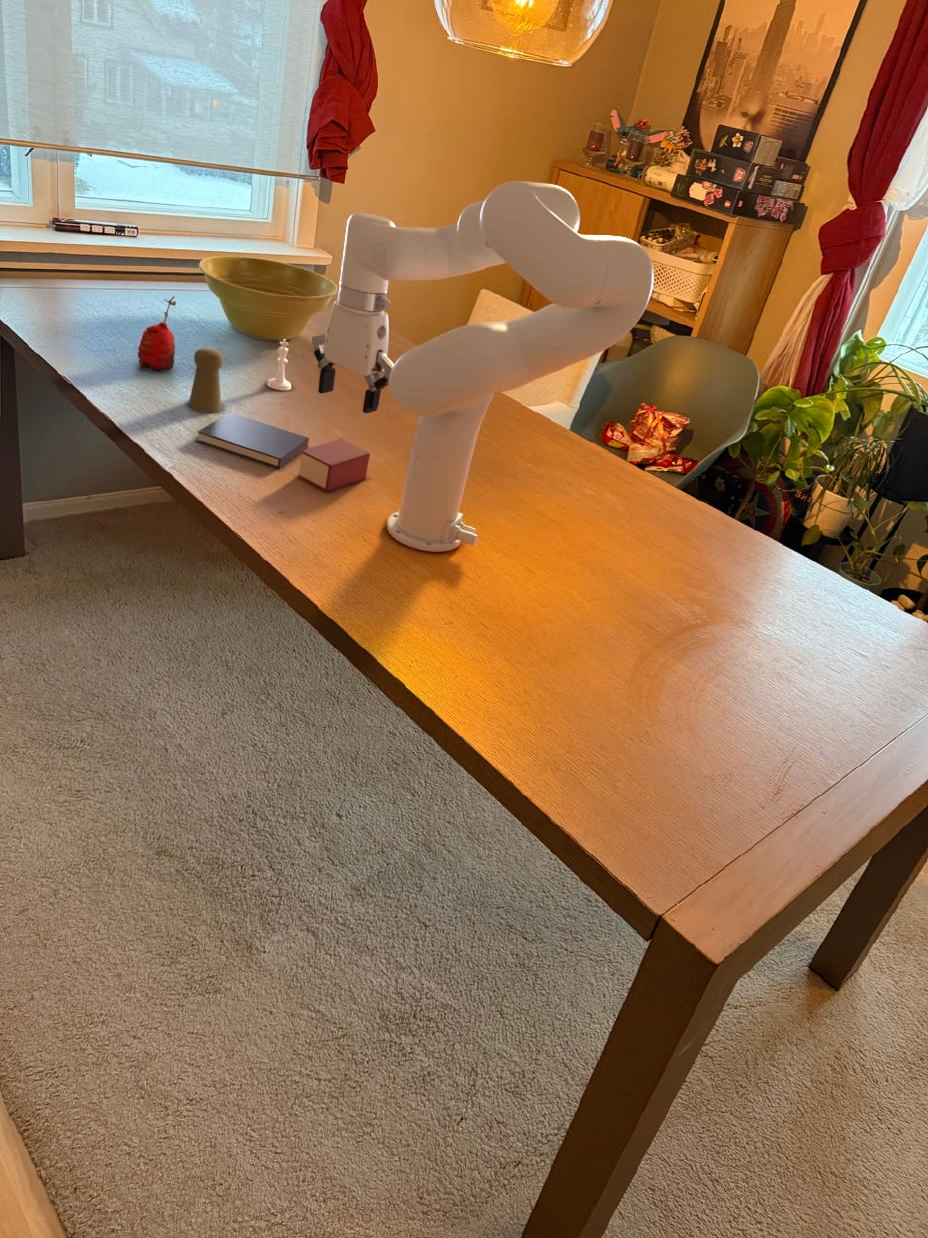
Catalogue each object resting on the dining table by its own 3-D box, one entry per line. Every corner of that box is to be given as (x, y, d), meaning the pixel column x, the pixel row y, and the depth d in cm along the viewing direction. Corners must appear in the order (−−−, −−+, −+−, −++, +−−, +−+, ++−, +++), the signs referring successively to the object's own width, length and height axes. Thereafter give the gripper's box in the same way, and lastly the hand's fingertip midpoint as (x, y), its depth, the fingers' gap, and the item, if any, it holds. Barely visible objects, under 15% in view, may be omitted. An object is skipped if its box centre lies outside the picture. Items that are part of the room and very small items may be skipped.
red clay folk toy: (147, 357, 190) (149, 284, 182) (180, 366, 190) (184, 293, 182) (132, 368, 183) (134, 292, 175) (166, 376, 183) (170, 301, 176)
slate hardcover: (307, 447, 170) (309, 437, 169) (279, 468, 160) (280, 458, 158) (229, 422, 172) (230, 412, 170) (196, 441, 161) (197, 431, 160)
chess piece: (293, 391, 192) (299, 344, 187) (269, 389, 190) (275, 342, 185) (288, 382, 196) (293, 336, 191) (265, 380, 194) (270, 334, 189)
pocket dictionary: (365, 478, 164) (370, 452, 161) (327, 492, 156) (331, 465, 153) (336, 463, 167) (340, 438, 164) (297, 476, 159) (301, 450, 156)
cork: (213, 414, 173) (217, 358, 167) (183, 406, 173) (186, 349, 167) (226, 405, 178) (231, 350, 172) (197, 397, 178) (201, 341, 172)
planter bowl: (170, 308, 220) (173, 251, 213) (284, 308, 241) (290, 256, 234) (239, 357, 202) (245, 296, 195) (356, 353, 223) (365, 297, 216)
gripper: (418, 312, 145) (401, 415, 153) (335, 281, 151) (323, 381, 160) (390, 317, 139) (373, 423, 147) (304, 284, 145) (293, 387, 154)
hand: (347, 401), depth 154 cm, fingers open, 9 cm apart
